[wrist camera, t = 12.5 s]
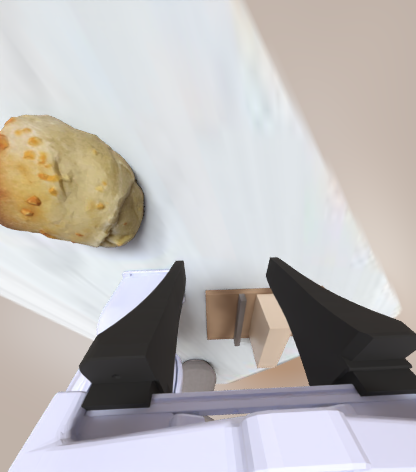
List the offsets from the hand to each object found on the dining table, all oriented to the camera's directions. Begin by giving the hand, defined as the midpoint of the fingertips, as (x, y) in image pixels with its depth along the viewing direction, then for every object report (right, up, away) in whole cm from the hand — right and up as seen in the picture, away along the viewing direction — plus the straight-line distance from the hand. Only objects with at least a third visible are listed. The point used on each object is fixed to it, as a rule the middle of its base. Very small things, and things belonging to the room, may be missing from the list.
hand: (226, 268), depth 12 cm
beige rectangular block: (+9, -13, +17) cm, 24 cm away
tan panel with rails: (+9, -14, +18) cm, 25 cm away
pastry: (-16, +9, +6) cm, 19 cm away
